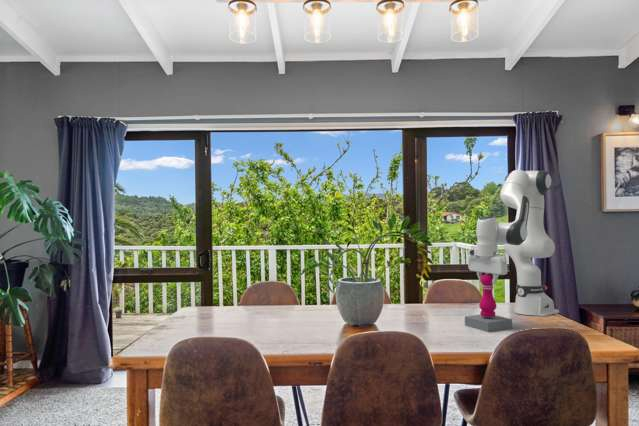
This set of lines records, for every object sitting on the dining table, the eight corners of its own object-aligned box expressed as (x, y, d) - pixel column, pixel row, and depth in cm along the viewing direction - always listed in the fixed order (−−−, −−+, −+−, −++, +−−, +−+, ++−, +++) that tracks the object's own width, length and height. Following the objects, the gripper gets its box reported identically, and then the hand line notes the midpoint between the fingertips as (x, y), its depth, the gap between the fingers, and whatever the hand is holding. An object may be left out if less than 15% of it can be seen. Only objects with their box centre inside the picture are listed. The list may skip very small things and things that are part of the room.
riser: (488, 322, 219) (487, 313, 219) (512, 328, 207) (511, 319, 207) (464, 325, 213) (464, 316, 213) (488, 332, 201) (488, 322, 201)
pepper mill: (497, 317, 206) (497, 271, 206) (480, 317, 207) (480, 271, 207) (495, 314, 213) (494, 269, 213) (478, 313, 214) (477, 269, 214)
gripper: (510, 253, 202) (511, 285, 202) (475, 250, 221) (476, 279, 220) (499, 253, 199) (500, 286, 199) (465, 250, 218) (466, 280, 218)
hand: (487, 282), depth 210 cm, fingers closed on pepper mill, 6 cm apart
